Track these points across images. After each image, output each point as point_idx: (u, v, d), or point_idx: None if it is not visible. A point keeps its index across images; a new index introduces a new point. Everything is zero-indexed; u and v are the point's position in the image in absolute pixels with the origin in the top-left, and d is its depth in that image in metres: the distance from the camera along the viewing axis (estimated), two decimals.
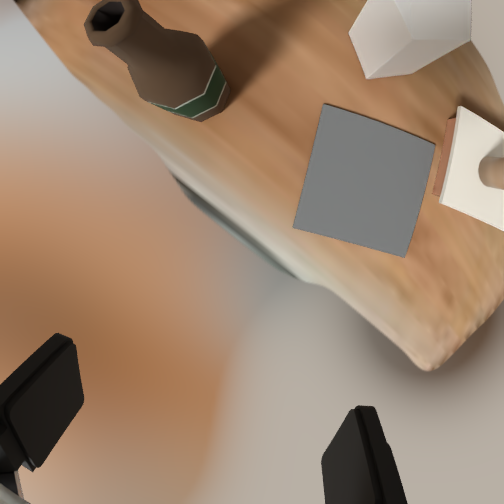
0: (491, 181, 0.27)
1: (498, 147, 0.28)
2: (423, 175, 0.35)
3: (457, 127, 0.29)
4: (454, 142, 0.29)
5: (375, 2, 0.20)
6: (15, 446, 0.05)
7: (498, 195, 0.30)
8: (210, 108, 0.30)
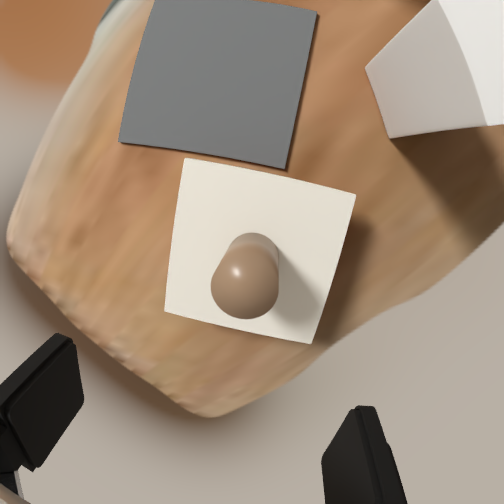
0: (230, 247, 0.21)
1: (299, 282, 0.24)
2: (233, 149, 0.26)
3: (316, 184, 0.22)
4: (289, 178, 0.22)
5: None
6: (15, 446, 0.05)
7: None
8: None
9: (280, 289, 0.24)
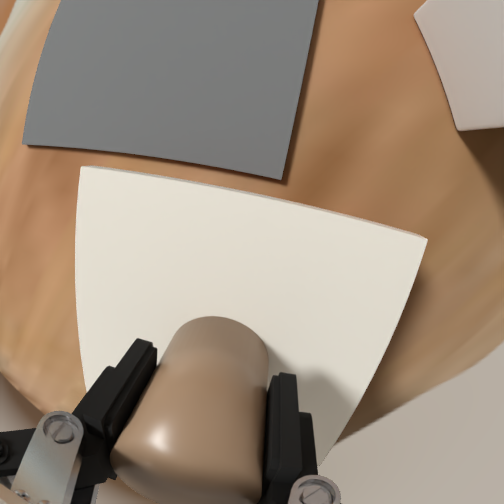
0: (162, 362, 0.09)
1: (306, 396, 0.12)
2: (187, 145, 0.14)
3: (352, 218, 0.10)
4: (293, 203, 0.10)
5: None
6: (104, 457, 0.06)
7: None
8: None
9: None
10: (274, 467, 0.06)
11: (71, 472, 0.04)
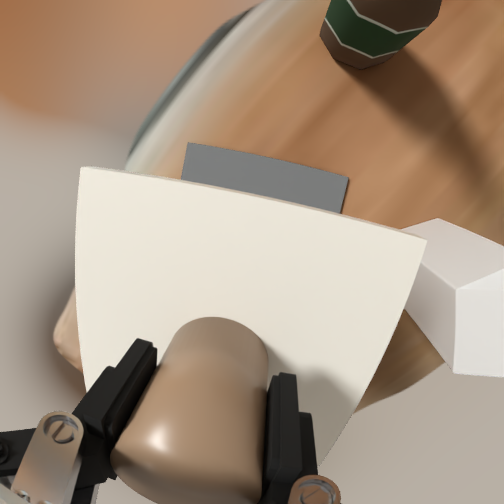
0: (162, 363, 0.09)
1: (306, 397, 0.12)
2: None
3: (352, 219, 0.10)
4: (293, 204, 0.10)
5: (490, 247, 0.18)
6: (104, 457, 0.06)
7: None
8: (337, 37, 0.21)
9: None
10: (274, 467, 0.06)
11: (71, 472, 0.04)
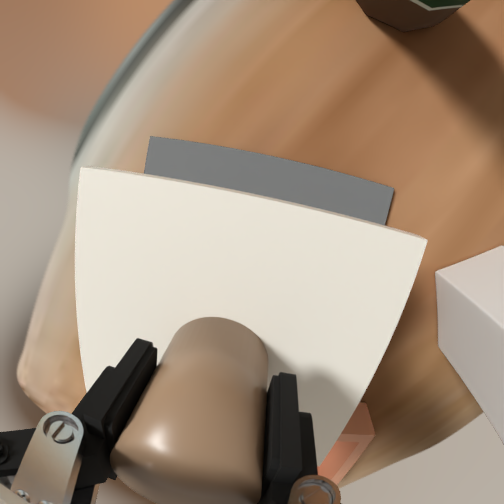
0: (162, 363, 0.09)
1: (306, 397, 0.12)
2: None
3: (352, 219, 0.10)
4: (293, 204, 0.10)
5: None
6: (104, 456, 0.06)
7: None
8: None
9: None
10: (274, 467, 0.06)
11: (71, 472, 0.04)
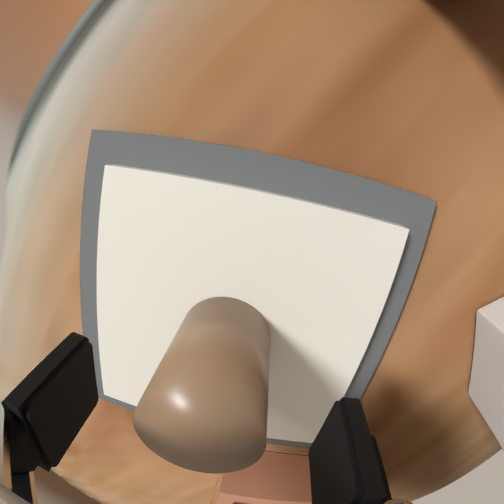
0: (178, 335, 0.11)
1: (304, 372, 0.14)
2: None
3: (342, 211, 0.12)
4: (291, 198, 0.12)
5: None
6: (32, 446, 0.05)
7: None
8: None
9: (273, 381, 0.14)
10: (358, 497, 0.05)
11: (3, 449, 0.04)
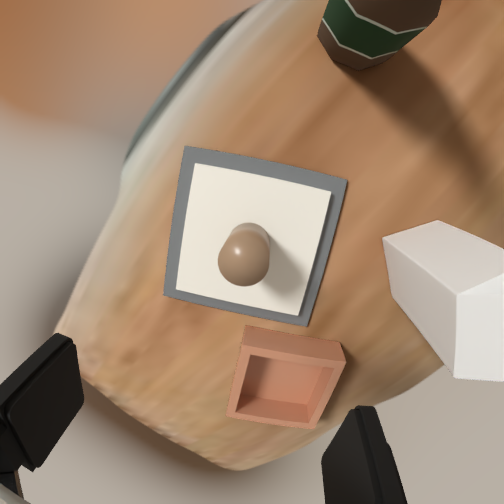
0: (232, 233, 0.27)
1: (287, 262, 0.30)
2: (266, 312, 0.32)
3: (299, 184, 0.28)
4: (278, 179, 0.28)
5: (490, 251, 0.18)
6: (15, 446, 0.05)
7: None
8: (335, 37, 0.20)
9: (271, 268, 0.30)
10: None
11: None
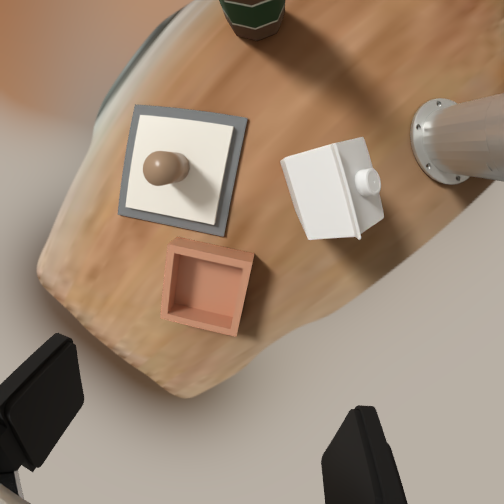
0: None
1: (202, 180, 0.38)
2: (191, 224, 0.41)
3: (210, 123, 0.36)
4: None
5: None
6: (15, 446, 0.05)
7: (155, 185, 0.39)
8: (229, 19, 0.29)
9: (191, 186, 0.39)
10: None
11: None
